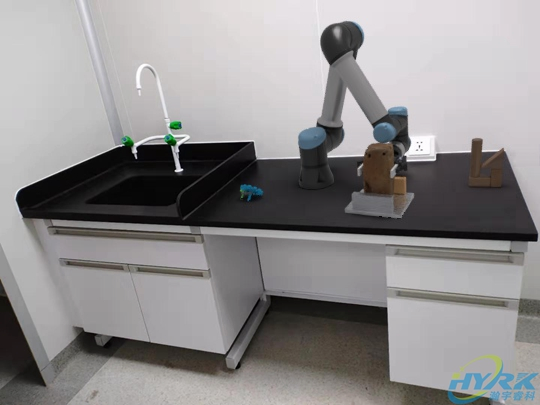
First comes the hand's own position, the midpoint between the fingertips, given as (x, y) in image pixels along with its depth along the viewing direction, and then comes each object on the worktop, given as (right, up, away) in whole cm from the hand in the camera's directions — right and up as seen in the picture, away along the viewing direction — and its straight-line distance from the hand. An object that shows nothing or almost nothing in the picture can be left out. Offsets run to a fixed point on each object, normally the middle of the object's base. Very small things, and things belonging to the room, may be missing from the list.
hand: (374, 173), depth 144 cm
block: (+4, -9, +7) cm, 12 cm away
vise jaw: (+8, -6, +15) cm, 18 cm away
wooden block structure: (+44, -4, +12) cm, 46 cm away
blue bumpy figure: (-44, -8, +32) cm, 55 cm away
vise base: (+4, -11, +9) cm, 15 cm away
